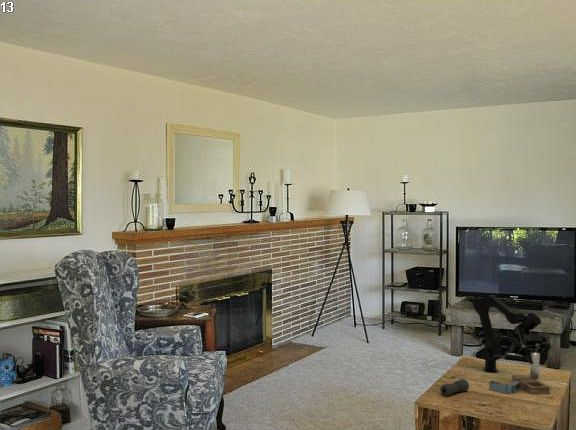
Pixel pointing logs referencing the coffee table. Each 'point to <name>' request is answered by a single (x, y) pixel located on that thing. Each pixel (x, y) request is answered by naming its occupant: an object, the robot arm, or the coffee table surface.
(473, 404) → the coffee table surface
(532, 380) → the slotted block
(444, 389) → the flashlight
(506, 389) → the v block
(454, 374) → the coffee table surface
